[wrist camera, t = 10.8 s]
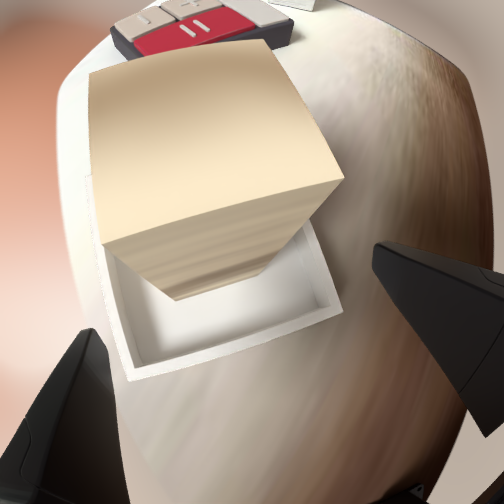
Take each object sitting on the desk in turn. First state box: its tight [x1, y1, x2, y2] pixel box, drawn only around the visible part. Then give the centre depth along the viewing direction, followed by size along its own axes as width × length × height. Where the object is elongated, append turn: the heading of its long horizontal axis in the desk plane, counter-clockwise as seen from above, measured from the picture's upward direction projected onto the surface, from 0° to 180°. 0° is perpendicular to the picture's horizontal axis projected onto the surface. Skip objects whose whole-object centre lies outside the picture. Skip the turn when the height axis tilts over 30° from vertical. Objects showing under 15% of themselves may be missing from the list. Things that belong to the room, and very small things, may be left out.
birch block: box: [88, 39, 344, 302], centre depth 12 cm, size 5×5×12 cm
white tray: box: [85, 174, 343, 382], centre depth 17 cm, size 12×12×2 cm
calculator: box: [110, 0, 294, 61], centre depth 22 cm, size 11×4×15 cm
